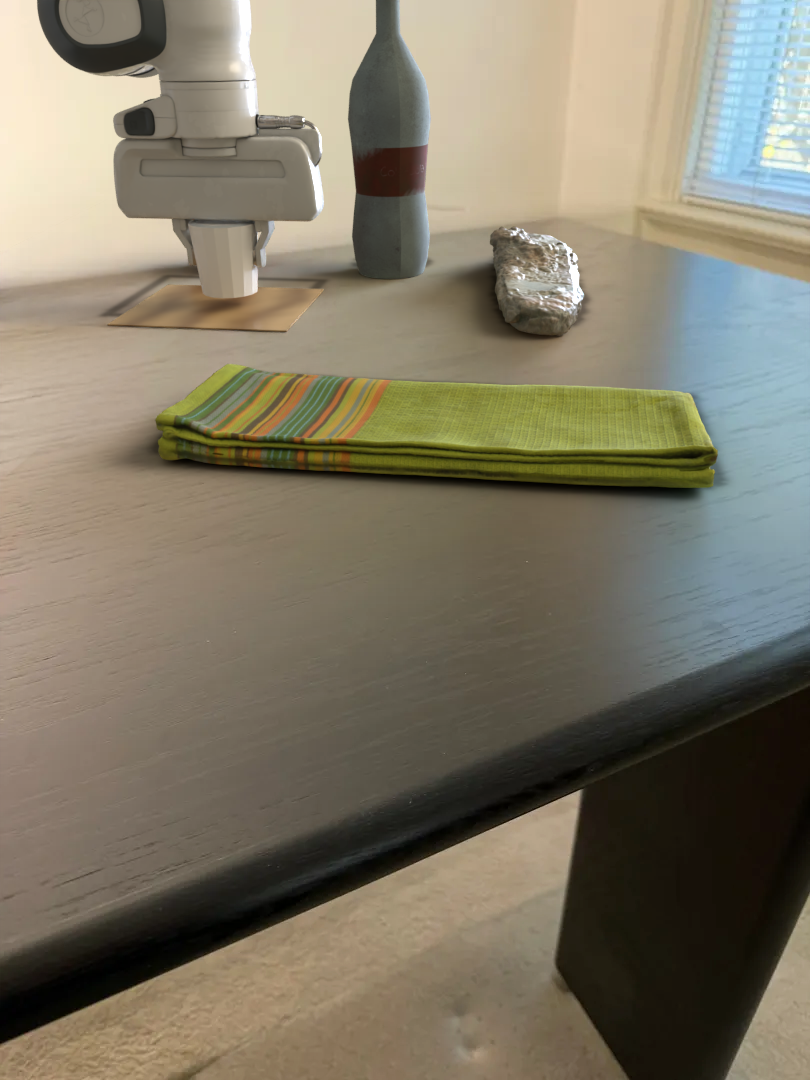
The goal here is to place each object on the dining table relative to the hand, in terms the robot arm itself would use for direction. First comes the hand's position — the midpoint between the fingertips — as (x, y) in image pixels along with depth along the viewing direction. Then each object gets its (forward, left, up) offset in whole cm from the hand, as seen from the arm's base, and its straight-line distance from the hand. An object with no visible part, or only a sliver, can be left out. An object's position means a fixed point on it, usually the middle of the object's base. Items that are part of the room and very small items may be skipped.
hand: (227, 265), depth 90 cm
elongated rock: (+31, +10, -4) cm, 33 cm away
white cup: (0, 0, -3) cm, 3 cm away
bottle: (+14, +18, -4) cm, 23 cm away
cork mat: (-1, 0, -4) cm, 4 cm away
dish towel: (+25, -31, -4) cm, 40 cm away
